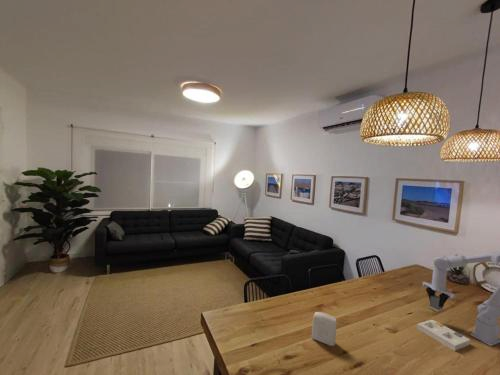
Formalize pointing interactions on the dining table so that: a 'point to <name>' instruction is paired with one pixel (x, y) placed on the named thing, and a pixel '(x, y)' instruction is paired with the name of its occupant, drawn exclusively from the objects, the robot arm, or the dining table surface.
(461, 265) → the robot arm
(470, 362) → the dining table surface
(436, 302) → the plug
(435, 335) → the sorting tray
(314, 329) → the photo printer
